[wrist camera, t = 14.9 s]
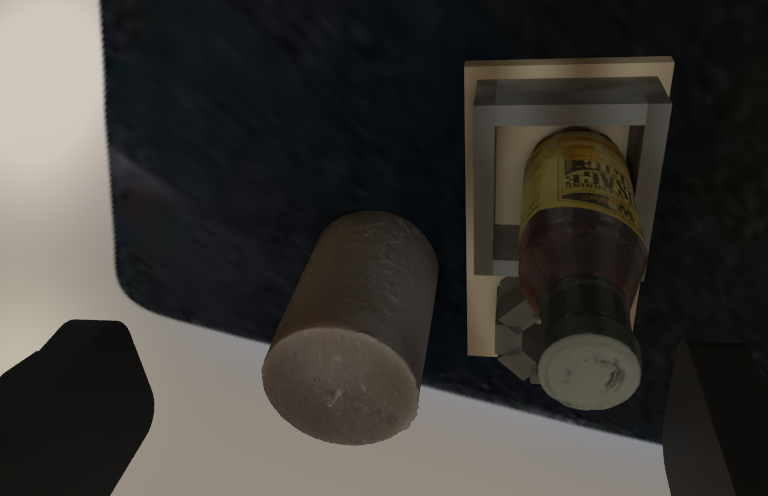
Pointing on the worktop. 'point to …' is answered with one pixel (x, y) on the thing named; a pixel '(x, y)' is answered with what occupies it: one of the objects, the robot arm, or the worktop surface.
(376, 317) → the pillar candle
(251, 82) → the worktop surface
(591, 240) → the sauce bottle
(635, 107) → the socket board
